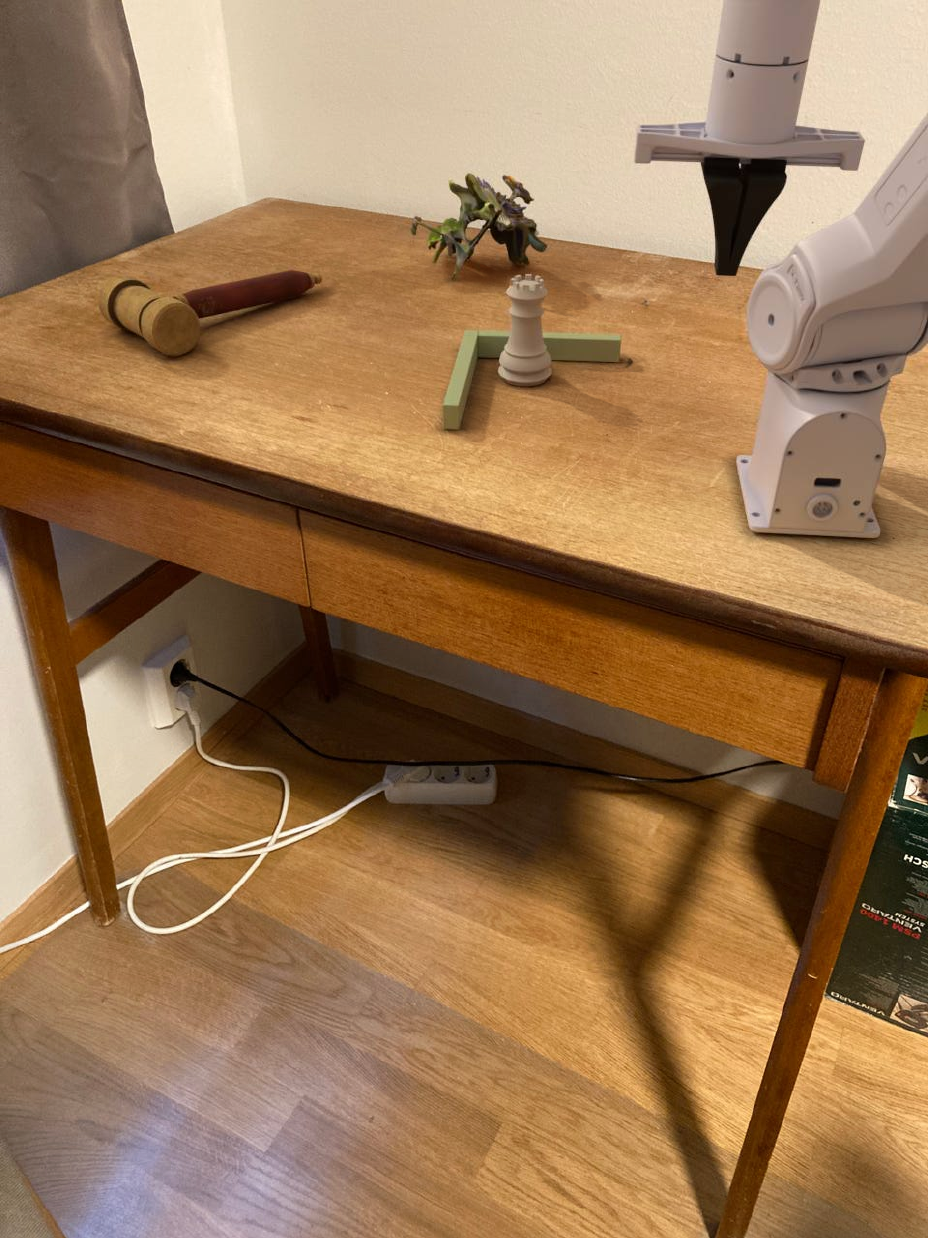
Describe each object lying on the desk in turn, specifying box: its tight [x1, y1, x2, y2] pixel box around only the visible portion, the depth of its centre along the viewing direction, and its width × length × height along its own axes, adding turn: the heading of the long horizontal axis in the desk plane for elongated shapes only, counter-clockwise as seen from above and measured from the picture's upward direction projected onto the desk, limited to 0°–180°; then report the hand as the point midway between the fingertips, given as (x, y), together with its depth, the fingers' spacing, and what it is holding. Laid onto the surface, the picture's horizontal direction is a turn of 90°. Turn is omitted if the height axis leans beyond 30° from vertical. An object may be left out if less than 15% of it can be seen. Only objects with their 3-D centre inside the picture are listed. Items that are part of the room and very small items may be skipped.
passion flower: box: [410, 172, 548, 281], centre depth 100 cm, size 11×11×12 cm
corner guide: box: [442, 329, 622, 431], centre depth 80 cm, size 15×13×2 cm
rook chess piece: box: [497, 273, 553, 387], centre depth 80 cm, size 4×4×8 cm
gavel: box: [97, 269, 323, 357], centre depth 93 cm, size 21×5×10 cm
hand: (725, 270), depth 71 cm, fingers closed
